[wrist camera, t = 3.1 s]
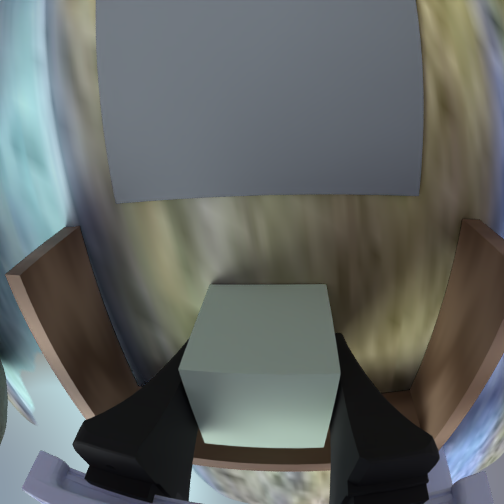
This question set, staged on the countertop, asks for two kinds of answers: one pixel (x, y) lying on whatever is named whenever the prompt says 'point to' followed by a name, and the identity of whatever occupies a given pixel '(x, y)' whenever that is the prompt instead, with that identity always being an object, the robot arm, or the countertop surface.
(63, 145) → the countertop surface
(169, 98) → the slate mat
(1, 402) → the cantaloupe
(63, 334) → the walnut open-sided frame
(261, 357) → the sage block
